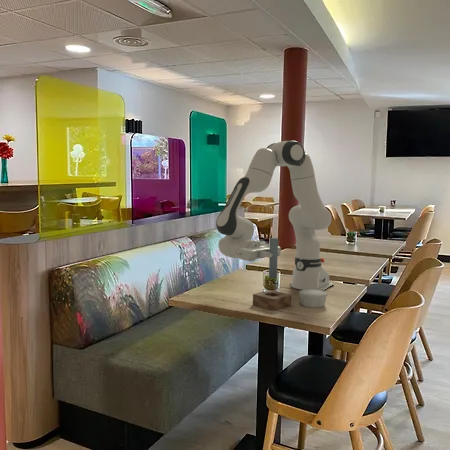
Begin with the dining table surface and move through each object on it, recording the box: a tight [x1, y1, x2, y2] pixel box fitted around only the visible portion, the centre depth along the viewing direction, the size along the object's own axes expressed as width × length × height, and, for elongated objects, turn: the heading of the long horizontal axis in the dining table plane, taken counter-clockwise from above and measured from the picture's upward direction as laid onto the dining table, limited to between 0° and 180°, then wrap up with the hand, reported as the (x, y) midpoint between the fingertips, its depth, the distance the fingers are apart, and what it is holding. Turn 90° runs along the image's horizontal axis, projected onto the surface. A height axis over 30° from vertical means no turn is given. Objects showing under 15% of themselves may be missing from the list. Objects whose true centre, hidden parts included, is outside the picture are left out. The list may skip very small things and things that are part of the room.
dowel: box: [268, 237, 279, 280], centre depth 185 cm, size 3×3×16 cm
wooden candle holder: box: [252, 289, 293, 312], centre depth 186 cm, size 11×11×4 cm
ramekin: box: [298, 289, 328, 309], centre depth 189 cm, size 11×11×5 cm
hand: (275, 254), depth 184 cm, fingers closed on dowel, 3 cm apart
